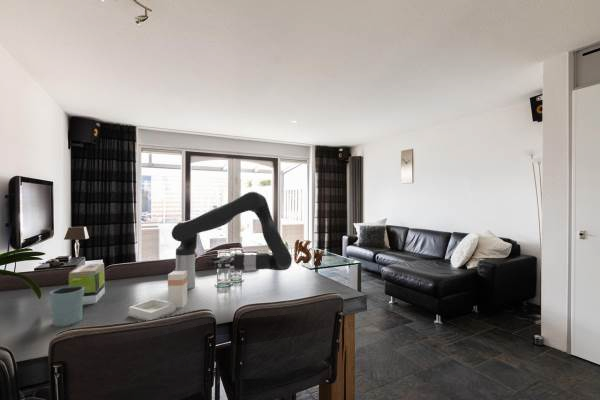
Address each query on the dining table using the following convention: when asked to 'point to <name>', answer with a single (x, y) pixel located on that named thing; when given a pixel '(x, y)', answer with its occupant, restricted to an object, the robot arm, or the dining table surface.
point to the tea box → (89, 281)
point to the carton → (177, 288)
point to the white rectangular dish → (151, 309)
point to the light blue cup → (67, 305)
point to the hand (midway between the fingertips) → (208, 262)
